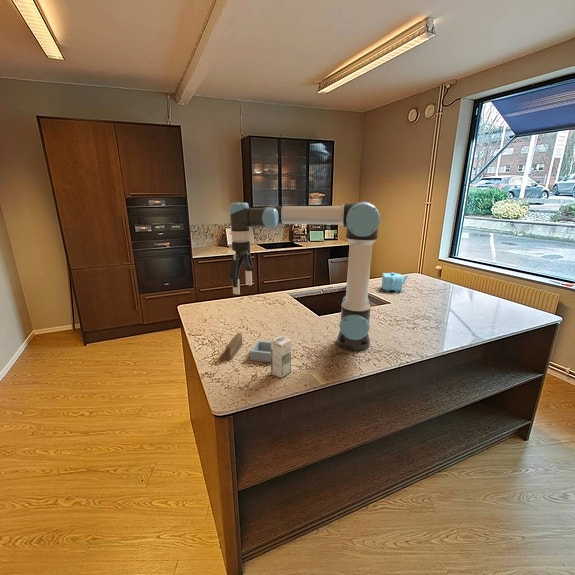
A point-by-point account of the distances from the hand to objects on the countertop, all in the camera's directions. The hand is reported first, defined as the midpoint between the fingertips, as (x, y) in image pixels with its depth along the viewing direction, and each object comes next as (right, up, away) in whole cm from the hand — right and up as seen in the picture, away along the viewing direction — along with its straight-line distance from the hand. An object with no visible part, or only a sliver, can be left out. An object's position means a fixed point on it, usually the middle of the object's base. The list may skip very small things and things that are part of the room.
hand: (243, 289), depth 140 cm
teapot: (+96, -1, +89) cm, 131 cm away
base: (-5, -28, +3) cm, 29 cm away
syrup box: (+17, -33, -14) cm, 40 cm away
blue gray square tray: (+10, -29, 0) cm, 31 cm away
